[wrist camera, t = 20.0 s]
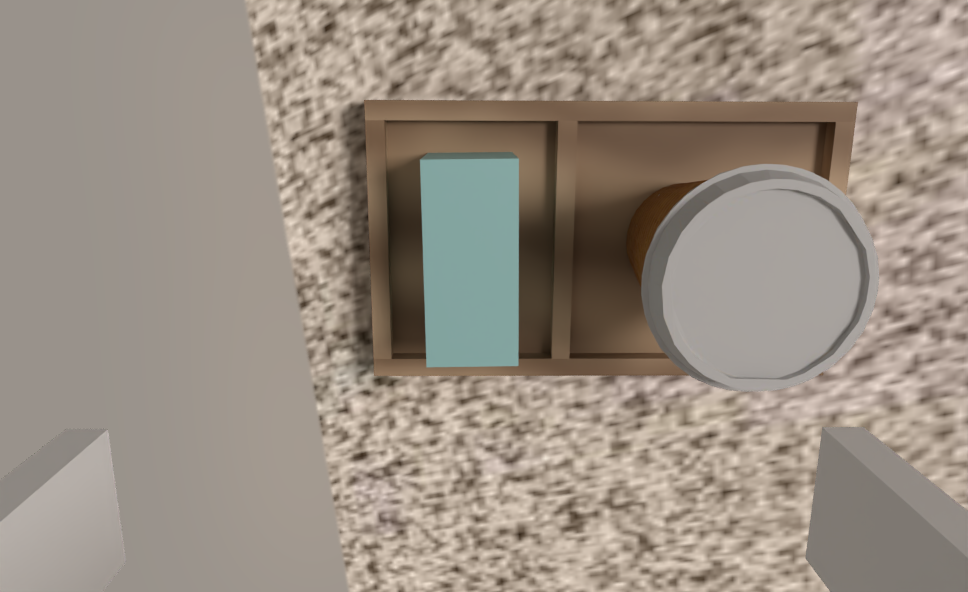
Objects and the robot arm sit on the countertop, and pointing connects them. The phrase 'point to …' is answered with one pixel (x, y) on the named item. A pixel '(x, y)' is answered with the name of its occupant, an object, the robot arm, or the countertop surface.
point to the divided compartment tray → (569, 211)
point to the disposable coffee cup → (754, 275)
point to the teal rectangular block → (471, 258)
